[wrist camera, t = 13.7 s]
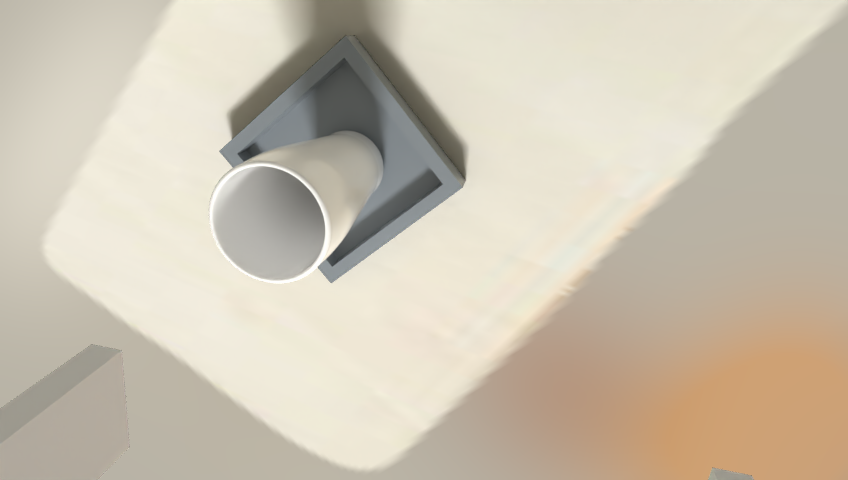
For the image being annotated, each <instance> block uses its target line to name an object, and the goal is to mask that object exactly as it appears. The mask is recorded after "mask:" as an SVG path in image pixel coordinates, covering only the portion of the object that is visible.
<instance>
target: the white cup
mask: <svg viewBox="0 0 848 480" xmlns="http://www.w3.org/2000/svg"><path fill="white" fill-rule="evenodd" d="M383 172H384V165H383V159H382V156H381V153H380V151H379V149H378V148H377V146H376V145H375V144H374V143H373V142H372V141H371V140H370V139H369V138H368V137H366V136H365V135H363V134H361V133H358V132H355V131H349V130H343V131H338V132H334V133H332V134H330V135H327V136H324V137H319V138H315V139H310V140H306V141H301V142H296V143H292V144H287V145H283V146H279V147H276V148H273V149H270V150H268V151H265V152H263V153H260V154H258V155H256V156H254V157H252V158H250V159H248V160H246V161H244V162H243V163H241V164H239V165H237V166H235V167H234V168H232V169H231V170H229V171H228V172H227V173H226V174H225V175H224V176H223V177H222V178H221V179H220V180H219V182H218V183H217V185H216V186H215V188H214V190H213V193H212V196H211V199H210V204H209V223H210V228H211V232H212V235H213V237H214V240H215V242H216V244H217V246H218V247H219V249H220V251H221V252H222V254H223V255H224V256H225V257H226V259H227V260H228V261H229V262H230V263H231V264H232V265H234V266H235V267H236V268H237V269H238V270H240V271H241V272H243V273H244V274H246V275H248V276H250V277H252V278H255V279H257V280H260V281H264V282H269V283H287V282H292V281H296V280H298V279H301V278H303V277H305V276H307V275H308V274H310V273H311V272H312V271H314V270H315V269H316V268H317V267H318V266H319V265H320V264H321V263H322V262H324V261H325V260H326V259H327V258H328V257H329V256H330V255H331V254H332V253H333V252H334V250H335V249H336V248H337V247H338V246H339V245H340V244H341V242H342V241H343V240H344V238H345V237H346V235H347V234H348V233H349V231H350V229H351V228H352V226H353V224H354V223H355V221H356V219H357V218H358V216H359V214H360V213H361V211H362V209H363V208H364V206H365V204H366V203H367V201H368V200H369V198H370V196H371V195H372V194H373V193H374V192H375V191H376V189H377V188H378V187H379V185H380V183H381V180H382V177H383Z"/></svg>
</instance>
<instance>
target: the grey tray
mask: <svg viewBox="0 0 848 480" xmlns="http://www.w3.org/2000/svg"><path fill="white" fill-rule="evenodd" d="M343 130H349V131H355V132H358V133H361V134H363V135H365V136H366V137H368V138H369V139H370V140H371V141H372V142H373V143H374V144H375V145H376V146H377V148H378V149H379V151H380V153H381V156H382V159H383V165H384V172H383V177H382V180H381V183H380V185H379V187H378V188H377V189H376V191H375V192H374V193H373V194H372V195H371V196H370V198H369V200H368V201H367V203H366V204H365V206H364V208H363V209H362V211H361V213H360V214H359V216H358V218H357V219H356V221H355V223H354V224H353V226H352V228H351V229H350V231H349V233H348V234H347V235H346V237H345V238H344V240H343V241H342V242H341V244H340V245H339V246H338V247H337V248H336V249H335V250H334V252H333V253H332V254H331V255H330V256H329V257H328V258H327V259H326V260H325V261H324V262H322V263H321V264H320V265H319V266H318V268H319V270H320V271H321V272H322V273H323V274H324V275H325V277H326V278H327V279H328V280H329V281H330V283H332V282H334V281H335V280H336V279H338V278H339V277H341V276H342V275H343V274H345V273H346V272H347V271H349V270H350V269H352V268H353V267H354V266H356V265H357V264H358V263H360V262H361V261H363V260H364V259H365V258H367V257H368V256H369V255H371V254H372V253H373V252H375V251H376V250H378V249H379V248H380V247H382V246H383V245H384V244H386V243H387V242H389V241H390V240H391V239H393V238H394V237H395V236H397V235H398V234H399V233H401V232H402V231H404V230H405V229H406V228H408V227H409V226H410V225H412V224H413V223H415V222H416V221H417V220H419V219H420V218H421V217H423V216H424V215H426V214H427V213H428V212H430V211H431V210H432V209H434V208H435V207H436V206H438V205H439V204H441V203H442V202H443V201H445V200H446V199H447V198H449V197H450V196H452V195H453V194H454V193H456V192H457V191H458V190H460V189H461V188H462V187H463V186H464V183H465V181H466V180H465V179H464V177H463V176H462V175H461V173H460V172H459V171H458V169H457V168H456V167H455V166H454V164H453V163H452V162H451V160H450V159H449V158H448V156H447V155H446V154H445V153H444V151H443V150H442V149H441V147H440V146H439V145H438V143H437V142H436V141H435V140H434V138H433V137H432V136H431V134H430V133H429V132H428V130H427V129H426V128H425V127H424V125H423V124H422V123H421V121H420V120H419V119H418V117H417V116H416V115H415V114H414V112H413V111H412V110H411V108H410V107H409V106H408V104H407V103H406V102H405V101H404V99H403V98H402V97H401V95H400V94H399V93H398V91H397V90H396V89H395V88H394V86H393V85H392V84H391V82H390V81H389V80H388V78H387V77H386V76H385V75H384V73H383V72H382V71H381V69H380V68H379V67H378V65H377V64H376V63H375V62H374V60H373V59H372V58H371V56H370V55H369V54H368V52H367V51H366V50H365V49H364V47H363V46H362V45H361V43H360V42H359V41H358V39H357V38H356V37H355V36H344V37H343V38H342V39H341V40H340V41H339V42H338V43H337V44H336V45H335V46H334V47H332V48H331V49H330V50H329V51H328V52H327V53H326V54H325V55H324V56H323V57H322V58H320V59H319V60H318V61H317V62H316V63H315V64H314V65H313V66H312V67H311V68H310V69H308V70H307V71H306V72H305V73H304V74H303V75H302V76H301V77H300V78H299V79H298V80H296V81H295V82H294V83H293V84H292V85H291V86H290V87H289V88H288V89H287V90H286V91H284V92H283V93H282V94H281V95H280V96H279V97H278V98H277V99H276V100H275V101H274V102H272V103H271V104H270V105H269V106H268V107H267V108H266V109H265V110H264V111H263V112H262V113H260V114H259V115H258V116H257V117H256V118H255V119H254V120H253V121H252V122H251V123H250V124H248V125H247V126H246V127H245V128H244V129H243V130H242V131H241V132H240V133H239V134H238V135H236V136H235V137H234V138H233V139H232V140H231V141H230V142H229V143H228V144H227V145H225V146H224V147H223V148H222V149H221V150H220V153H221V154H222V155H223V156H224V157H225V159H226V160H227V161H228V162H229V163H230V164H231V166H232V167H233V168H234V167H235V166H237V165H239V164H241V163H243V162H244V161H246V160H248V159H250V158H252V157H254V156H256V155H258V154H260V153H263V152H265V151H268V150H270V149H273V148H276V147H279V146H283V145H287V144H292V143H296V142H301V141H306V140H310V139H315V138H319V137H324V136H327V135H330V134H332V133H334V132H338V131H343Z"/></svg>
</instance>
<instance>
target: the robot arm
mask: <svg viewBox="0 0 848 480" xmlns="http://www.w3.org/2000/svg"><path fill="white" fill-rule="evenodd" d="M129 447H130V445H129V432H128V420H127V407H126V395H125V382H124V370H123V358H122V350H118V349H113V348H108V347H103V346H98V345H93V344H91V345H90V346H88V347H87V348H86V349H84V350H83V351H81V352H80V353H78V354H77V355H76V356H74V357H73V358H72V359H70V360H69V361H67V362H66V363H64V364H63V365H62V366H60V367H59V368H57V369H56V370H54V371H53V372H51V373H50V374H49V375H47V376H46V377H45V378H43V379H42V380H40V381H39V382H37V383H36V384H35V385H33V386H32V387H30V388H29V389H27V390H26V391H24V392H23V393H22V394H20V395H19V396H17V397H16V398H15V399H13V400H12V401H10V402H9V403H7V404H6V405H5V406H3V407H2V408H0V480H98V479H99V478H100V477H101V476H102V475H103V474H104V473H105V472H106V471H107V470H108V468H109V467H110V466H111V465H112V464H113V463H114V462H115V461H116V460H117V459H118V458H119V457H120V456H121V455H122V454H123V453H124V452H125V451H126V450H127V449H128V448H129ZM708 480H754V479H753V477H752V476H751V475H746V474H742V473H737V472H731V471H727V470H722V469H716V468H712V470H711V473H710V476H709V479H708Z"/></svg>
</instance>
